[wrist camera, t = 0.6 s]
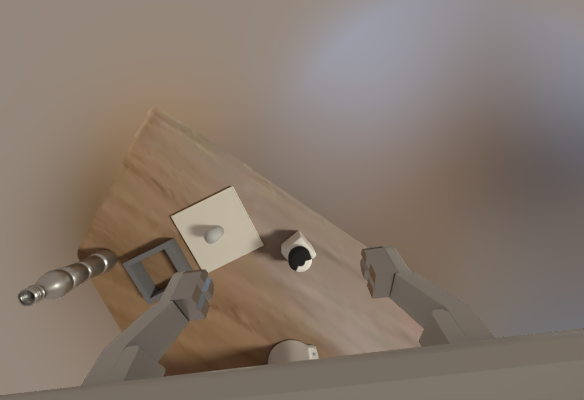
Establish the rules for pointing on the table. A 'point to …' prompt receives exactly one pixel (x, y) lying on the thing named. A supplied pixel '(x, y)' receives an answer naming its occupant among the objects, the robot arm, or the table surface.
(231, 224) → the post stand
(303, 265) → the medicine bottle
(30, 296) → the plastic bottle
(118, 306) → the table surface
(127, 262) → the grey rectangular frame
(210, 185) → the table surface
